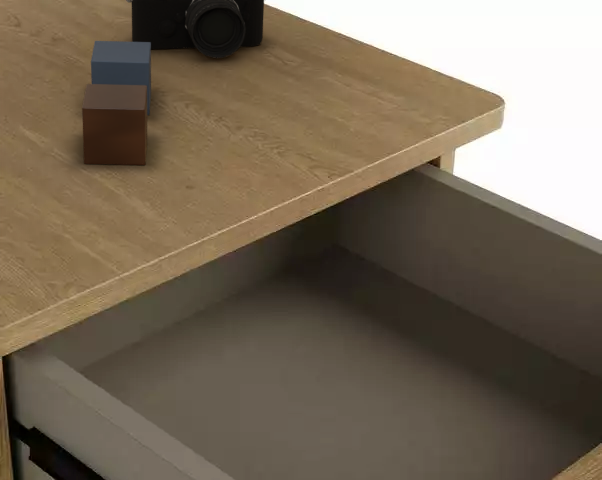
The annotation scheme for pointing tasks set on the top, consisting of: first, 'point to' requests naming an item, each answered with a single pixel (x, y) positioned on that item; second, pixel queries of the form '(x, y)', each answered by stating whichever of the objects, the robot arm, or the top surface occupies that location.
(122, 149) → the walnut block
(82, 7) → the top surface
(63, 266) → the top surface
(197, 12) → the camera
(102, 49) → the slate block
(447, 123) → the top surface
